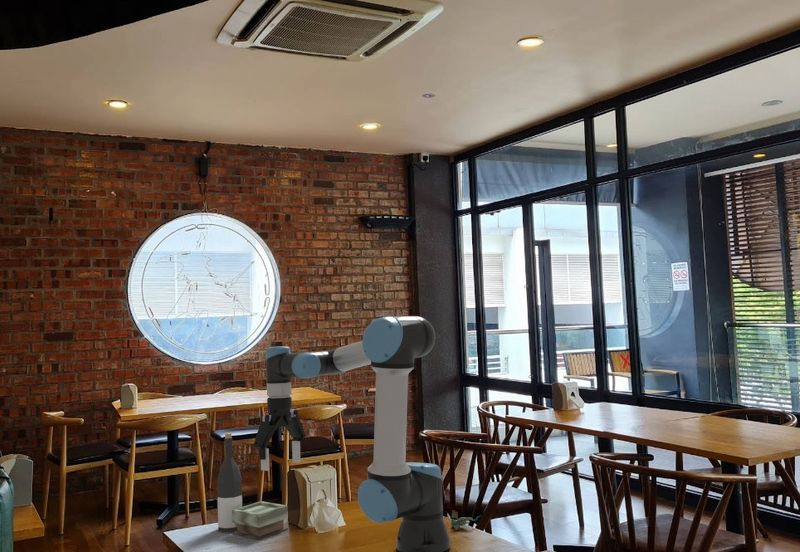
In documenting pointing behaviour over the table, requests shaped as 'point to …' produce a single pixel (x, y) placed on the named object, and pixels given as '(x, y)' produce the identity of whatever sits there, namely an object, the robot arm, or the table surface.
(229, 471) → the wine bottle
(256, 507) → the two-tone layered tray
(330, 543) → the table surface
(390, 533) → the table surface
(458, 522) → the dragon figurine
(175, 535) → the table surface
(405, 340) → the robot arm
